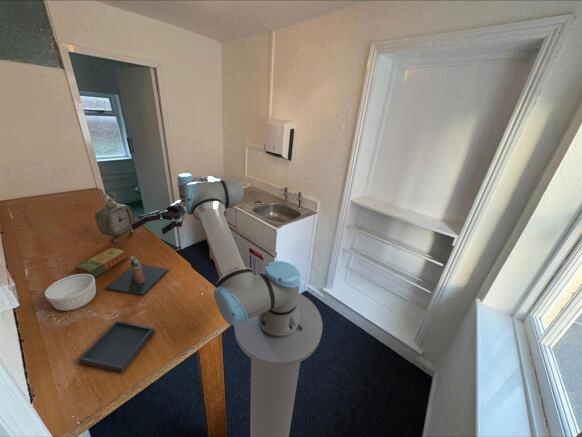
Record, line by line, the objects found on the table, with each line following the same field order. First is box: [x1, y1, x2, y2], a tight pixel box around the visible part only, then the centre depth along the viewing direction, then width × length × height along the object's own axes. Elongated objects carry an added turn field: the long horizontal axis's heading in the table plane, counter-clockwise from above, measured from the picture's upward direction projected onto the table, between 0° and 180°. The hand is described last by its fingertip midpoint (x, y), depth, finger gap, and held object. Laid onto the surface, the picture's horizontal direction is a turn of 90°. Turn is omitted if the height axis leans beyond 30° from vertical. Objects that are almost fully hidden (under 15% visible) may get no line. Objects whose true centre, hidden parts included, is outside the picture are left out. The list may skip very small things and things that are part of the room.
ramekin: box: [44, 273, 97, 312], centre depth 84 cm, size 13×13×7 cm
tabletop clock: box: [94, 192, 136, 244], centre depth 120 cm, size 14×9×25 cm, turn 168°
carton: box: [74, 247, 127, 278], centre depth 102 cm, size 8×16×4 cm, turn 163°
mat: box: [105, 264, 169, 296], centre depth 98 cm, size 16×16×1 cm
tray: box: [77, 320, 155, 373], centre depth 71 cm, size 13×13×2 cm
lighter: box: [128, 255, 145, 284], centre depth 95 cm, size 8×3×10 cm, turn 47°
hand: (147, 229), depth 97 cm, fingers open, 13 cm apart
